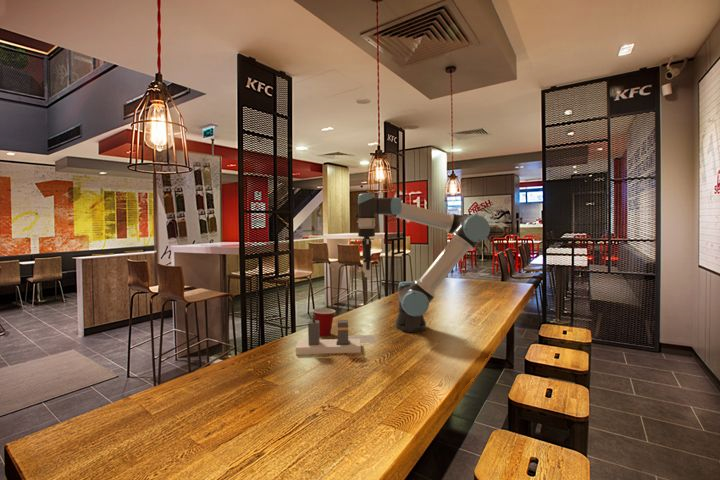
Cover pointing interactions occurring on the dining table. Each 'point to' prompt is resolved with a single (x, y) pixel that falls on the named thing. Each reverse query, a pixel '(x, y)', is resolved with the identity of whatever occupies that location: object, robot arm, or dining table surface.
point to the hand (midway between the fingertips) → (366, 274)
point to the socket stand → (324, 343)
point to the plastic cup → (324, 320)
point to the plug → (342, 332)
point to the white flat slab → (363, 338)
